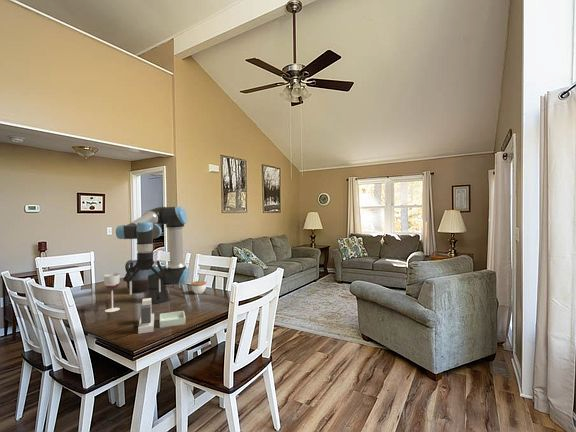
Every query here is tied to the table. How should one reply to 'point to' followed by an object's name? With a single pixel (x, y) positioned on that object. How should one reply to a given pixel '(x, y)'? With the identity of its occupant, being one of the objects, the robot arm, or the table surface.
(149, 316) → the black charger
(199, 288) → the white round bowl
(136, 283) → the pitcher
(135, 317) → the table surface
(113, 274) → the wineglass
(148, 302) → the white charger
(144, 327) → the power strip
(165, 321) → the tray
